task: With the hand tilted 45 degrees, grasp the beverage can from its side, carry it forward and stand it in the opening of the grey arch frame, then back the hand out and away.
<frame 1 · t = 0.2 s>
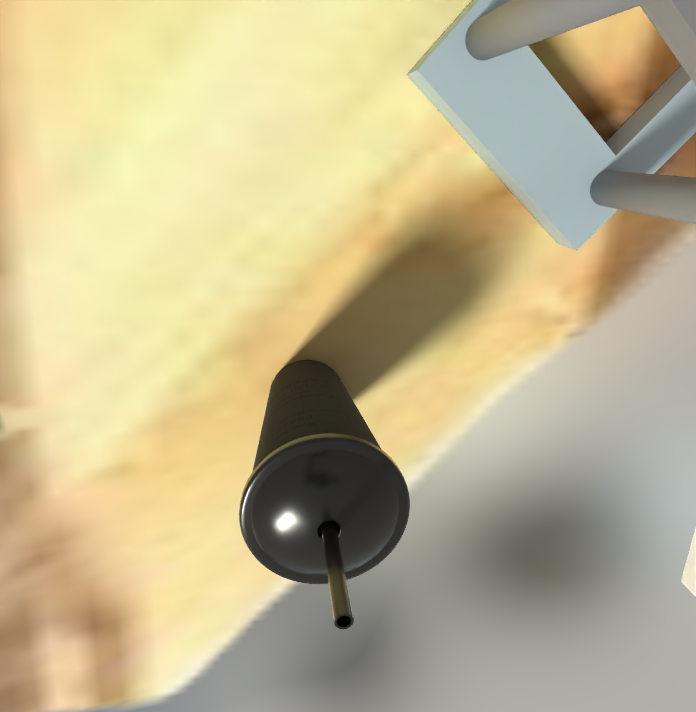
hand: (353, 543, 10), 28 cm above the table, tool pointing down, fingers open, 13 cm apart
grey arch frame: (586, 58, 35), on the table
drinking cup: (306, 392, 40), on the table
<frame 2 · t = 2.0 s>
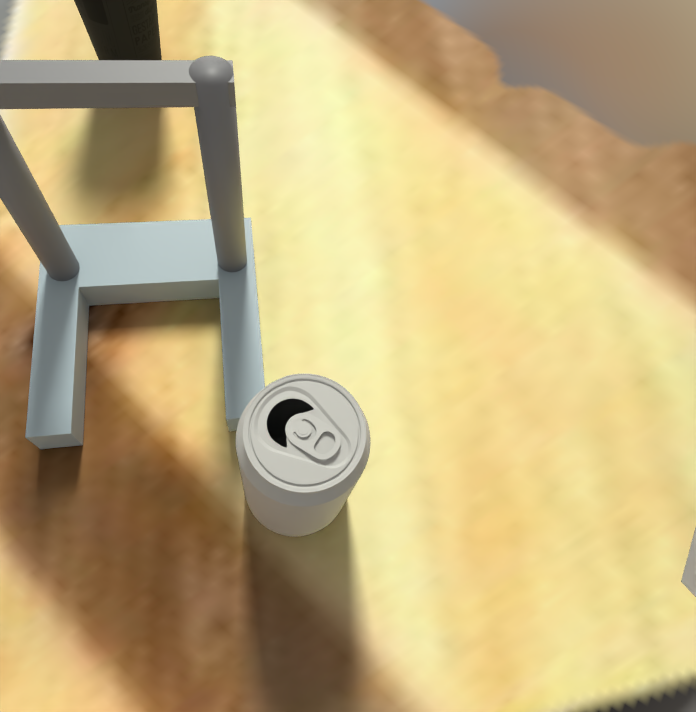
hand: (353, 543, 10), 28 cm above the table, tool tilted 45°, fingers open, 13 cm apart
grey arch frame: (156, 339, 41), on the table
drinking cup: (134, 69, 51), on the table
beverage can: (295, 487, 38), on the table
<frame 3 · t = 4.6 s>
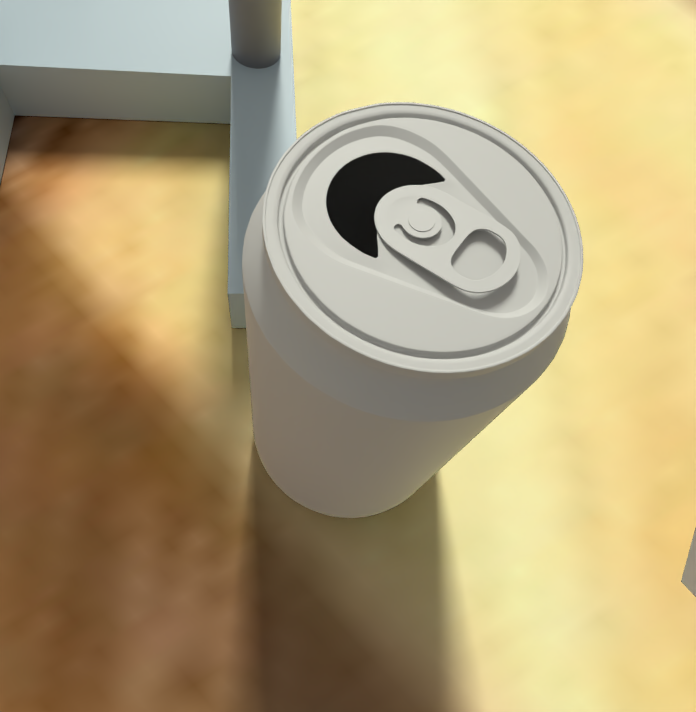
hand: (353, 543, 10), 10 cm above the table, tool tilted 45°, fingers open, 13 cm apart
grey arch frame: (121, 175, 24), on the table
beverage can: (345, 431, 21), on the table
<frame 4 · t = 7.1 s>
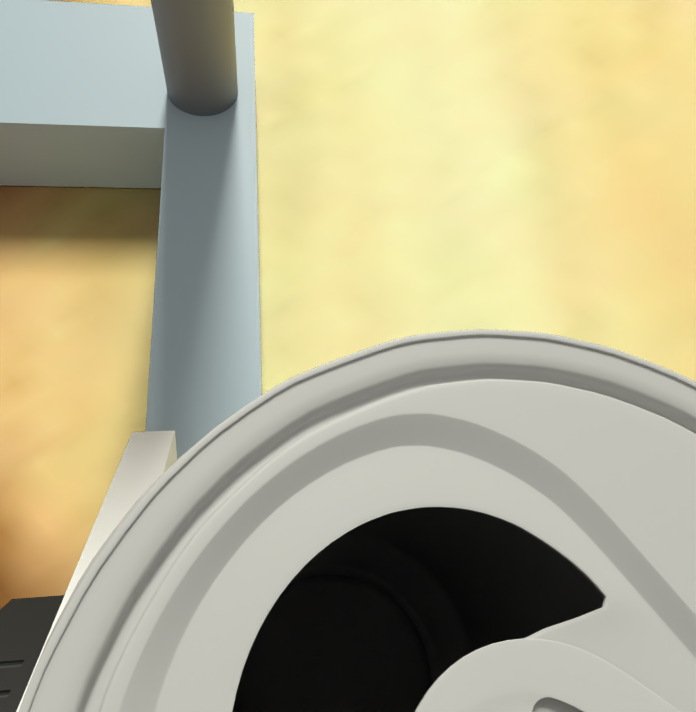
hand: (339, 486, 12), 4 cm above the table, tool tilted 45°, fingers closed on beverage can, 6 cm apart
grey arch frame: (8, 269, 17), on the table
beverage can: (332, 679, 14), on the table, touching gripper
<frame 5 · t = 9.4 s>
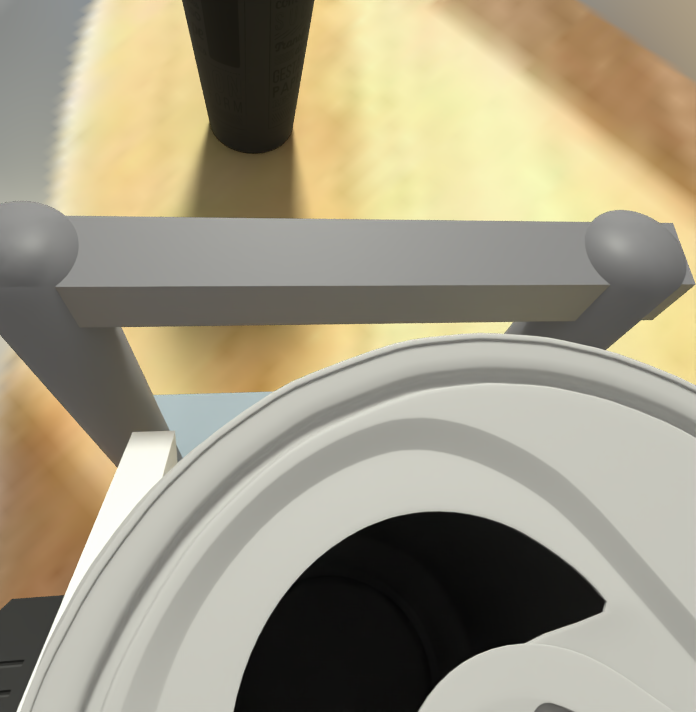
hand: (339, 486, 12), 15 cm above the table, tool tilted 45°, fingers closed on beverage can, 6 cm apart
grey arch frame: (303, 592, 25), on the table
drinking cup: (252, 125, 36), on the table
beverage can: (332, 681, 14), point 11 cm above the table, touching gripper
when the fingers open (5 cm above the table, at t = 11.9 s): beverage can drops 1 cm, on the table.
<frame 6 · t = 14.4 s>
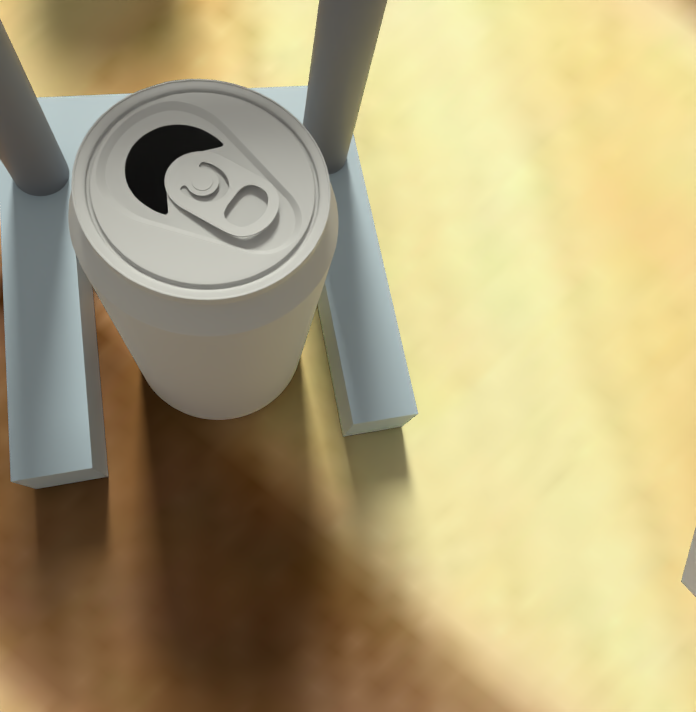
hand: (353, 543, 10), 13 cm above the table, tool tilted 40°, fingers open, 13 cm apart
grey arch frame: (207, 291, 25), on the table
beverage can: (222, 348, 25), on the table
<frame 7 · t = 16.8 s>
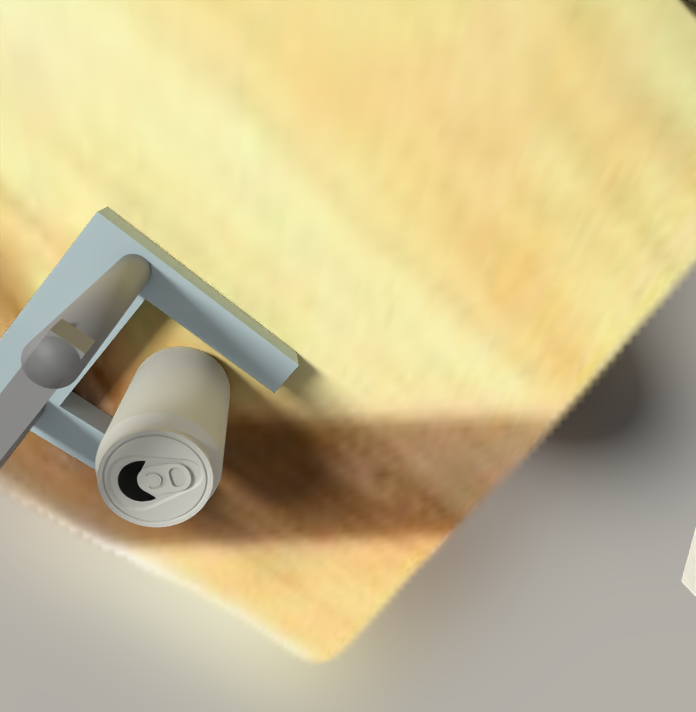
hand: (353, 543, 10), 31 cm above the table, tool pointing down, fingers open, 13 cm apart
grey arch frame: (149, 367, 40), on the table
beverage can: (184, 385, 41), on the table
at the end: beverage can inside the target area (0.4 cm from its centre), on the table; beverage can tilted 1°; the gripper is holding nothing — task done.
